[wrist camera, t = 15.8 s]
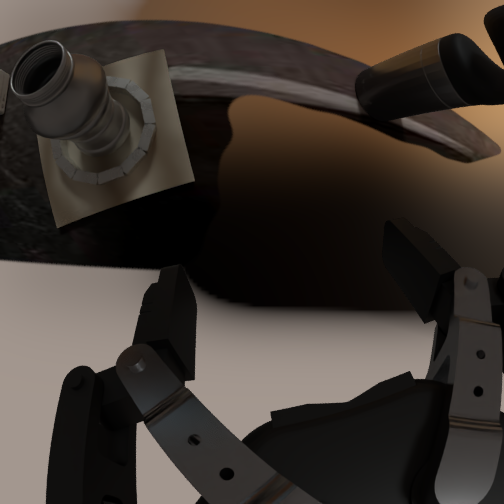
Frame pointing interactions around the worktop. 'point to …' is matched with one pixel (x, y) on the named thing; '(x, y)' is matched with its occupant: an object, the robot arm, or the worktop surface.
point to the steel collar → (133, 159)
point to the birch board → (124, 149)
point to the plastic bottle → (69, 99)
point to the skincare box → (3, 89)
